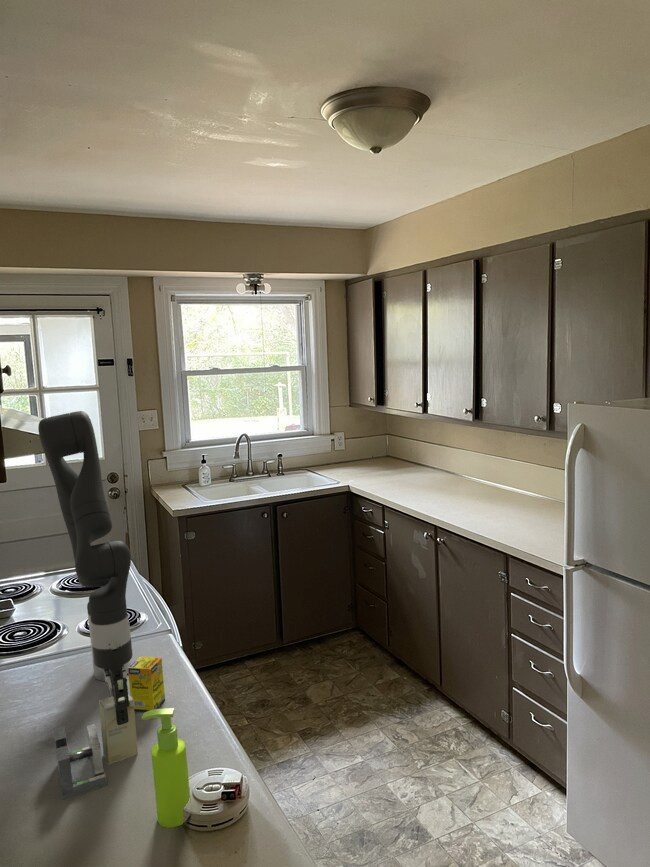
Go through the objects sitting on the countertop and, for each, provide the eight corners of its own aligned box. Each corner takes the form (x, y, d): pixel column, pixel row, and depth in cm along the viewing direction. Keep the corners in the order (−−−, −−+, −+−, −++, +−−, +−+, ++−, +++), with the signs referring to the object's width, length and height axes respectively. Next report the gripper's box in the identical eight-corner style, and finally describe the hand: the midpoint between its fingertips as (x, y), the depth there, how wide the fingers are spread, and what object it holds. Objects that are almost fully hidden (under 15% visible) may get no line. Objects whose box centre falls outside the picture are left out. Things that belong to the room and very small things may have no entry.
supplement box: (154, 713, 148) (150, 669, 147) (131, 712, 150) (126, 667, 148) (166, 700, 154) (162, 656, 153) (143, 698, 155) (139, 655, 154)
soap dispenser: (154, 806, 117) (145, 704, 115) (193, 802, 118) (184, 700, 115) (148, 830, 111) (138, 722, 109) (189, 825, 112) (179, 718, 109)
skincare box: (108, 765, 130) (102, 709, 128) (102, 755, 134) (97, 700, 132) (139, 754, 133) (134, 699, 132) (133, 743, 137) (127, 690, 136)
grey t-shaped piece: (58, 762, 130) (55, 735, 129) (97, 751, 133) (94, 724, 133) (62, 790, 121) (59, 760, 121) (103, 777, 125) (100, 748, 124)
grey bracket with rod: (57, 765, 131) (53, 729, 130) (98, 752, 135) (95, 717, 134) (62, 799, 120) (58, 761, 119) (106, 785, 124) (103, 747, 123)
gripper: (87, 630, 135) (95, 702, 137) (97, 658, 122) (105, 736, 125) (124, 621, 138) (131, 691, 141) (137, 648, 126) (144, 724, 128)
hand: (119, 712), depth 133 cm, fingers open, 8 cm apart
